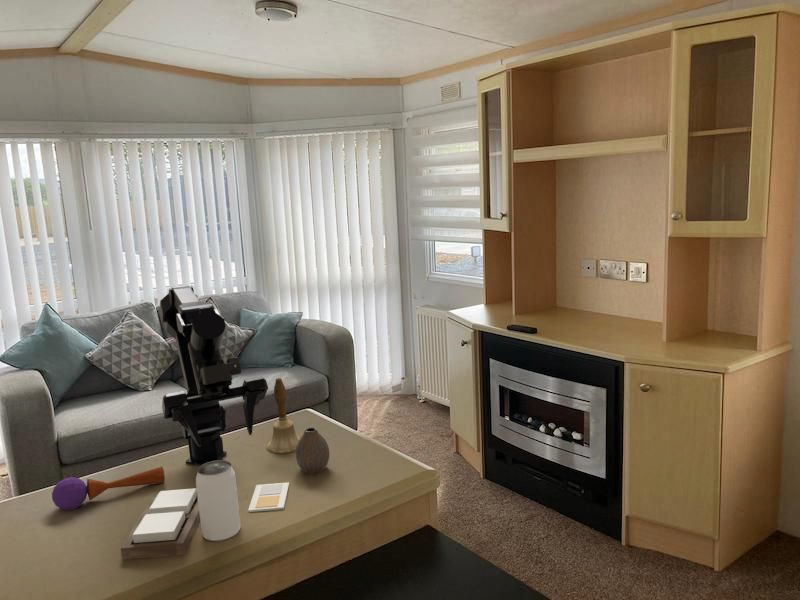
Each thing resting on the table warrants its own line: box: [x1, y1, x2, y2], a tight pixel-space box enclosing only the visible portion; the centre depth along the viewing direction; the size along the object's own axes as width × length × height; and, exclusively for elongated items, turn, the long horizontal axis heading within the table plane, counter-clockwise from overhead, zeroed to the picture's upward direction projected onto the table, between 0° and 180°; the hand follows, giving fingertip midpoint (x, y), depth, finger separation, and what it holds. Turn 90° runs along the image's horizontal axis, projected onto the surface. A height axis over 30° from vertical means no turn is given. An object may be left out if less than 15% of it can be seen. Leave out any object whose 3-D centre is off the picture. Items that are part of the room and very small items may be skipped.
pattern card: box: [247, 481, 290, 513], centre depth 124 cm, size 10×6×1 cm, turn 4°
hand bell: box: [266, 377, 301, 454], centre depth 146 cm, size 8×8×16 cm
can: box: [195, 459, 242, 542], centre depth 111 cm, size 6×6×12 cm
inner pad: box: [149, 488, 197, 515], centre depth 118 cm, size 7×7×2 cm
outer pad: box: [133, 511, 186, 544], centre depth 110 cm, size 7×7×2 cm
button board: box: [120, 495, 201, 560], centre depth 114 cm, size 18×10×2 cm, turn 4°
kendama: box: [51, 466, 165, 511], centre depth 128 cm, size 6×6×20 cm
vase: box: [295, 427, 330, 475], centre depth 134 cm, size 7×7×9 cm
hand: (225, 439), depth 118 cm, fingers open, 9 cm apart
